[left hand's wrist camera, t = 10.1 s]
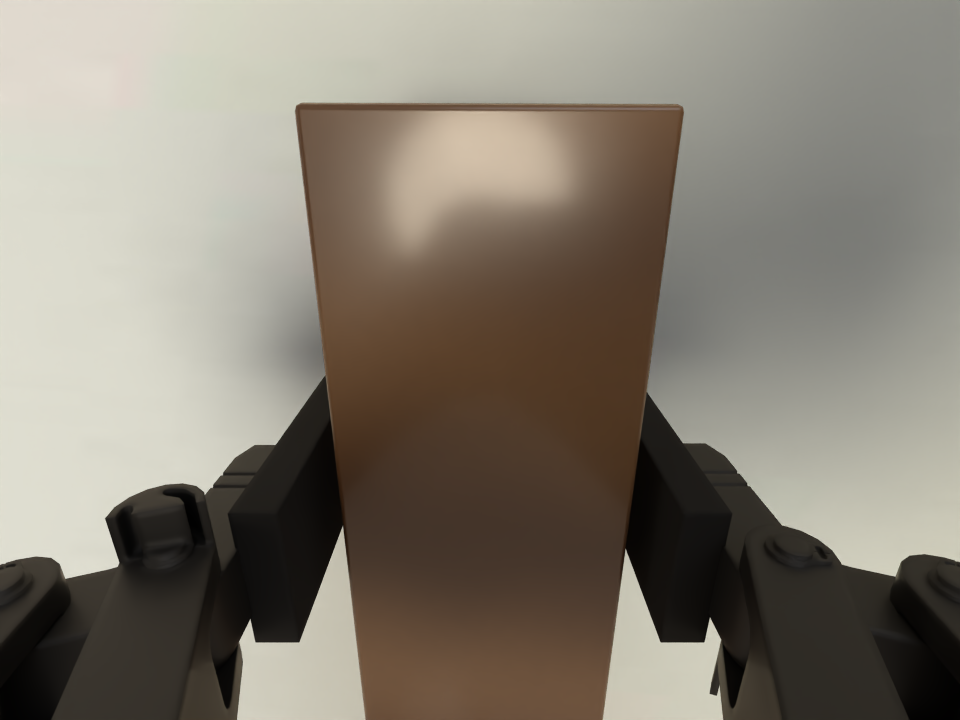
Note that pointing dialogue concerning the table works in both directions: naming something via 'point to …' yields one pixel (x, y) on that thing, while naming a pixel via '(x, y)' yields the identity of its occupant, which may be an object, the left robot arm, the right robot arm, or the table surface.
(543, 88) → the table surface
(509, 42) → the table surface
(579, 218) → the post
